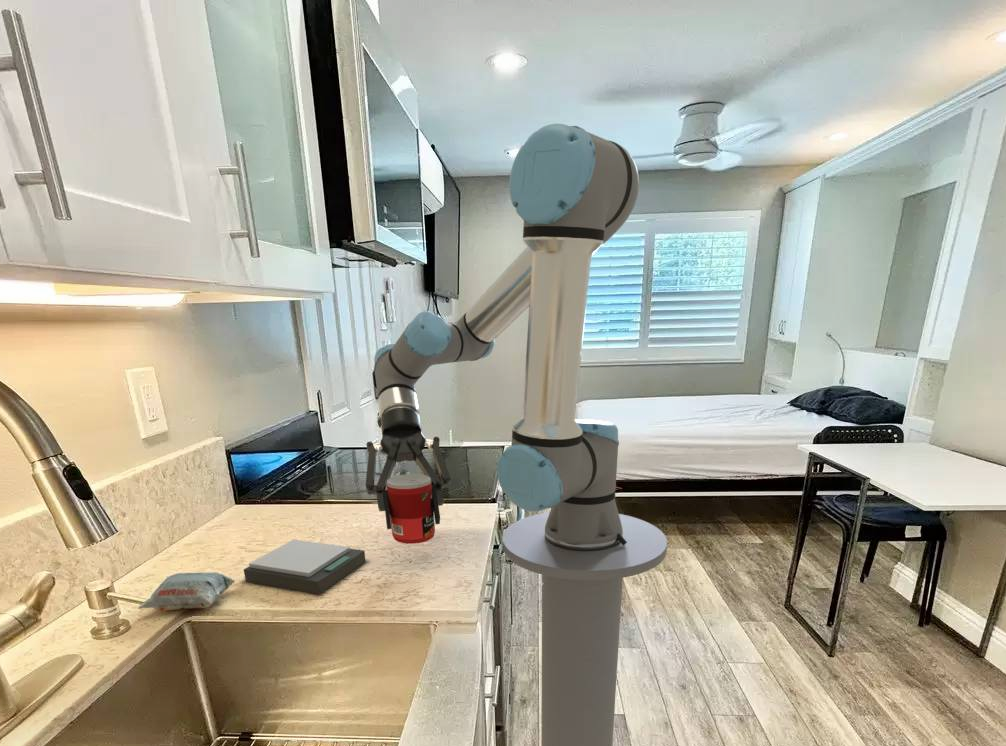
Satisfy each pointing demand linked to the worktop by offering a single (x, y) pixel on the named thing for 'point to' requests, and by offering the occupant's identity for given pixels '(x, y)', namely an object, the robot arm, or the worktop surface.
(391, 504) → the canned food
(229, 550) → the worktop surface
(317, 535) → the worktop surface
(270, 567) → the kitchen scale
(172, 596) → the packaged food
